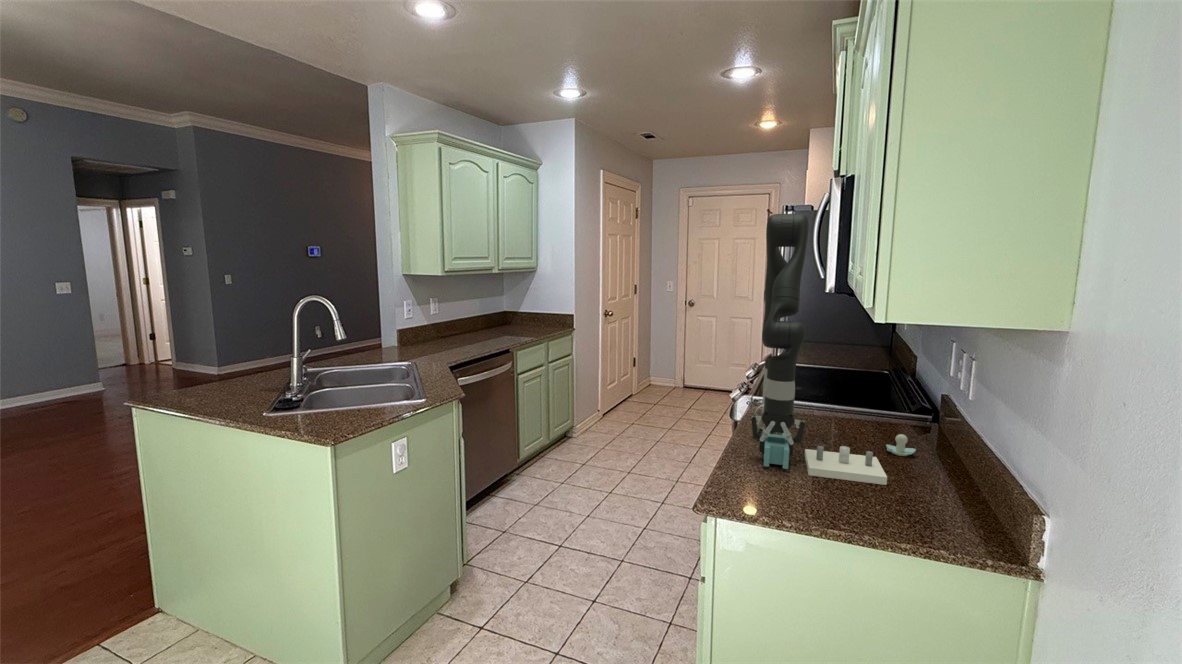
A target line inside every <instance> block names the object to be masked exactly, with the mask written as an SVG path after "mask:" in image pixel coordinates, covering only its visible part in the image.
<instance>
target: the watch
mask: <svg viewBox="0 0 1182 664" xmlns="http://www.w3.org/2000/svg"><path fill="white" fill-rule="evenodd" d="M762 407H764V404H760V405H759V406H758V407H757V408H756V409H755V411H754V414H753V415H755V416H759V414H758V410H759V409H760V408H761V409H762ZM762 423H763V422H761V421H760V422H759V424H757V428H759V429H758V430H757V432H758V433H759V434H761V433H762V431H763V429H764V428H765V426H764V425H763V424H762ZM776 433H777V432H771V431H770V434H775V435H777V434H776ZM756 440H757V441H759V440H758V439H756ZM757 441H756V442H757Z"/></svg>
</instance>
